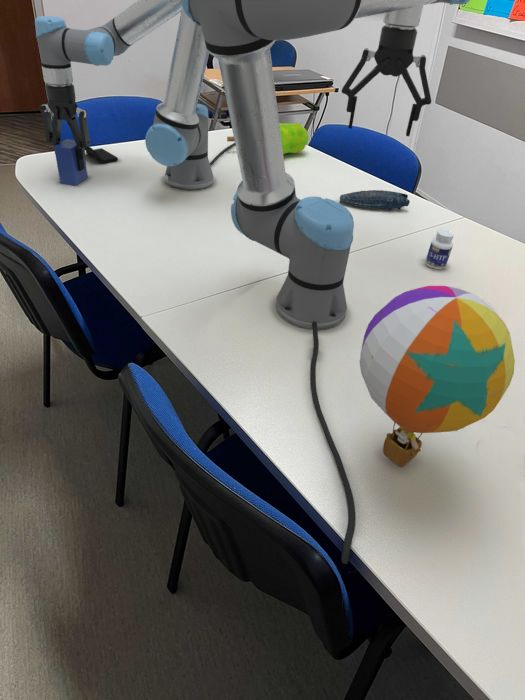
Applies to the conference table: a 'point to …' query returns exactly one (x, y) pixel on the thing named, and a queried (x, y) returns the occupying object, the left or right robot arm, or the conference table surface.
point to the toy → (435, 364)
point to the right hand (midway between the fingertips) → (378, 131)
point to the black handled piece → (100, 155)
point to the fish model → (376, 199)
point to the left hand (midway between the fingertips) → (72, 167)
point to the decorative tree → (290, 137)
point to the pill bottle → (440, 249)
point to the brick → (69, 163)
